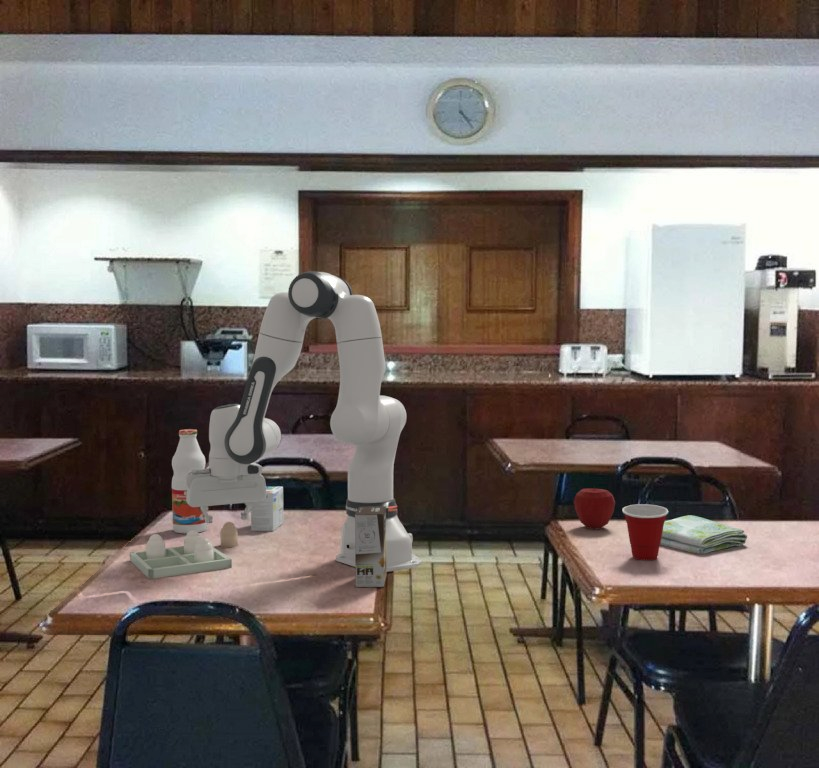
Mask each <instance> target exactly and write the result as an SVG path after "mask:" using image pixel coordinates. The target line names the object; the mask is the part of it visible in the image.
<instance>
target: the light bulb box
mask: <svg viewBox="0 0 819 768" xmlns="http://www.w3.org/2000/svg"><path fill="white" fill-rule="evenodd" d="M283 524H284V486H280V485H279V486H268V485H266V498H265V500H264V501H258V502H253V507H252V508H251V510H250V531H251V532H274V531H275V530H276V529H278V528H279V527H280V526H282V525H283Z"/></svg>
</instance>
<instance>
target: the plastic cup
mask: <svg viewBox="0 0 819 768" xmlns="http://www.w3.org/2000/svg"><path fill="white" fill-rule="evenodd" d="M622 513H623V516H624V518H625V522H626V527H627V532H628V533H627V534H628V539H629V544H630V548H631V550H630V551H631V555H632V558H633V559H635V560H639V561H654V560H657V559H658V556H659V551H660V550H659V549H660V545H661V544H660V543H661V537H662V531H663V526H664V522H665V521H666V518H667V515H668V514H669V510H668V508H667V507H664V506H660V505H656V504H647V503H645V504H643V503H641V504H640V503H639V504H638V503H637V504H630V505H627V506H624V507H622Z"/></svg>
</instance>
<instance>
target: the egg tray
mask: <svg viewBox="0 0 819 768" xmlns="http://www.w3.org/2000/svg"><path fill="white" fill-rule="evenodd" d="M213 549H214V561H207V562H199V563H195V559H194V554H186V555H184V545H180V546H179V545H178V546H172V547H171V546H170V547H165V554H166V557H163V558H155V559H147V560H146V550H139V551H130V552H129V561H130V562H131V564H133V565H134V566H135V567H136V568H137V569H138V570H139V571H141V572H142V574H143V575H144V576H145V577H146V578H148V579H149V580H150V579H151V580H154V579H159V578H166V577H174V576H179V575H180V576H181V575H189V574H196V573H203V572H210V571H211V572H212V571H216V570H224V569H231V568H233V567H232V566H233V565H232V559H231V558H230V557H229V556H228V555H226V554H224V553H223V552H222V551H220V550H219V549H217V548H216V547H214V546H213Z"/></svg>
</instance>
